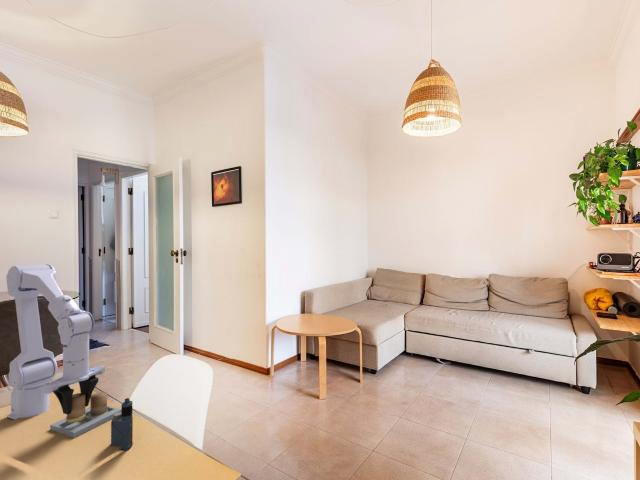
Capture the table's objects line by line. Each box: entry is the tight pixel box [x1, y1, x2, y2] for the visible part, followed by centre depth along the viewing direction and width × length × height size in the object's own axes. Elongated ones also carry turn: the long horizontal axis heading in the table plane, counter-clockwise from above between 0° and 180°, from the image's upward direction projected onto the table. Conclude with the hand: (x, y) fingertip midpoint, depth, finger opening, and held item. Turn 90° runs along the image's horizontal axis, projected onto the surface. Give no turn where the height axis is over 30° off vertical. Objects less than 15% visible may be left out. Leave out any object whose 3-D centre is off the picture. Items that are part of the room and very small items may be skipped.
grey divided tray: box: [49, 404, 122, 439], centre depth 92 cm, size 10×13×2 cm
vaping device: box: [110, 397, 134, 452], centre depth 82 cm, size 3×5×12 cm, turn 78°
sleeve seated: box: [89, 391, 108, 418], centre depth 95 cm, size 4×4×6 cm
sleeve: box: [65, 392, 86, 423], centre depth 89 cm, size 4×4×6 cm
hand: (76, 409), depth 89 cm, fingers closed on sleeve, 4 cm apart
